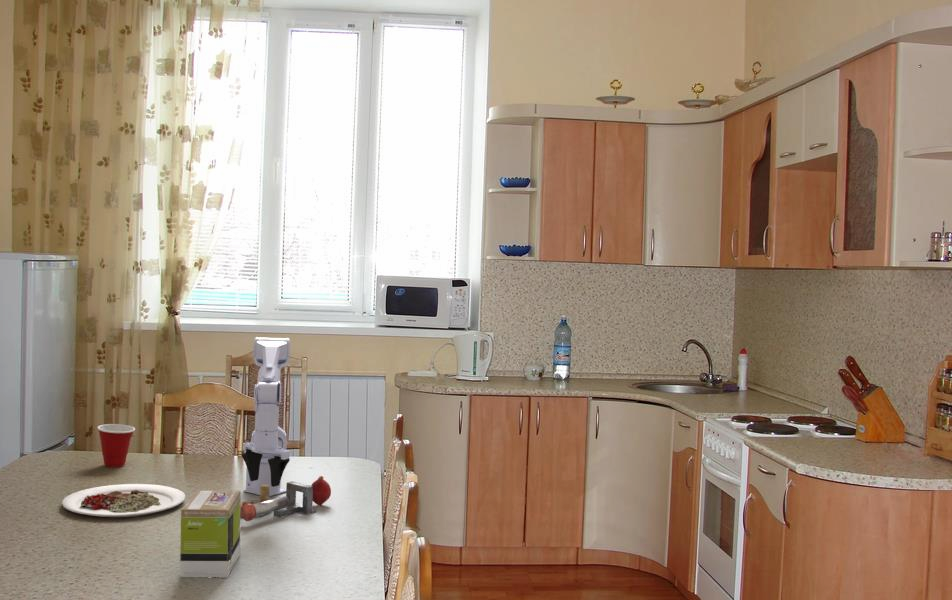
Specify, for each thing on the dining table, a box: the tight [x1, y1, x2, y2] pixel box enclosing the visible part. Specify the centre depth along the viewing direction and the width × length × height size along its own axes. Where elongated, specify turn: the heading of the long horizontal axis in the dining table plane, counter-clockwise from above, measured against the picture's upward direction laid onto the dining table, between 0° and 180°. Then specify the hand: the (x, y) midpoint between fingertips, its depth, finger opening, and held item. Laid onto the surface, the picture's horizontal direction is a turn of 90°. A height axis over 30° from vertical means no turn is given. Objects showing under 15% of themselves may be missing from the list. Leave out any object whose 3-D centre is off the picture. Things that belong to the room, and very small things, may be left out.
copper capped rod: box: [240, 495, 289, 522], centre depth 230 cm, size 4×13×4 cm, turn 147°
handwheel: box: [240, 485, 270, 515], centre depth 236 cm, size 10×10×6 cm
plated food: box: [61, 483, 186, 518], centre depth 238 cm, size 30×30×3 cm
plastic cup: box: [96, 423, 136, 468], centre depth 279 cm, size 11×11×12 cm
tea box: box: [179, 490, 241, 579], centre depth 195 cm, size 15×10×15 cm, turn 5°
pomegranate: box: [310, 475, 332, 506], centre depth 245 cm, size 6×6×8 cm
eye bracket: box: [273, 481, 317, 518], centre depth 237 cm, size 9×10×7 cm
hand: (264, 483), depth 230 cm, fingers open, 7 cm apart
